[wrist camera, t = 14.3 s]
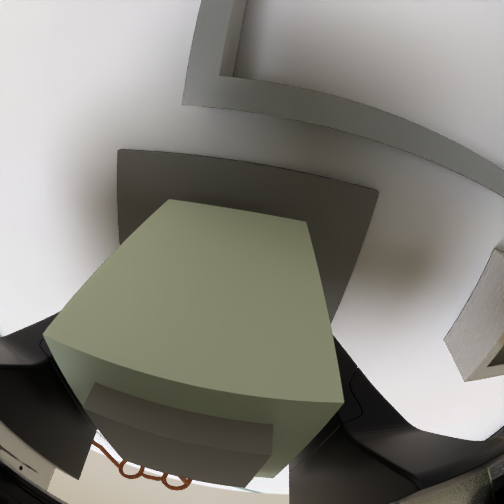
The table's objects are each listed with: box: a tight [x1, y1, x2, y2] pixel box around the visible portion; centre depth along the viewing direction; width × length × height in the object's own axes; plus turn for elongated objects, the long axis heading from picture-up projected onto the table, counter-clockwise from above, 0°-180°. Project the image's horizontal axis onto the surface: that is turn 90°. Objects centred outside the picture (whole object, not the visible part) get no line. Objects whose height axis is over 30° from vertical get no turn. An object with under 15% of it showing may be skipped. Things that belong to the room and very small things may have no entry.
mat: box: [117, 149, 379, 324], centre depth 12 cm, size 11×8×1 cm
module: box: [43, 199, 344, 488], centre depth 7 cm, size 5×5×8 cm
